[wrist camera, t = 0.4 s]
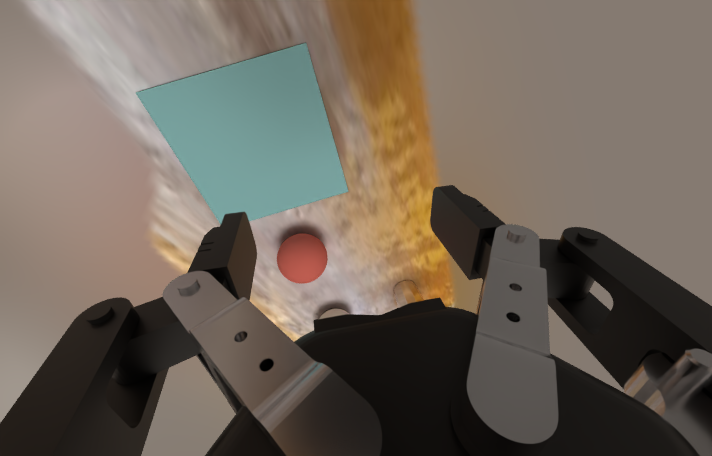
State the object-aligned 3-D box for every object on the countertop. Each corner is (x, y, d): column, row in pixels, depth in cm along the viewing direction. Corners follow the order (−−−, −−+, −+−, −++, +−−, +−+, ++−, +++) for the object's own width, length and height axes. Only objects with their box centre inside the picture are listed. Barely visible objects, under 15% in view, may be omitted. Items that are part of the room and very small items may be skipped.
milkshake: (429, 279, 43) (461, 339, 35) (405, 301, 45) (430, 363, 37) (407, 268, 41) (436, 330, 33) (383, 292, 43) (404, 356, 35)
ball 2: (312, 304, 41) (314, 338, 37) (350, 297, 42) (357, 330, 37) (317, 328, 44) (320, 362, 40) (353, 321, 45) (359, 353, 41)
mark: (136, 92, 23) (135, 92, 23) (305, 42, 23) (306, 42, 23) (224, 227, 32) (223, 228, 32) (348, 190, 32) (348, 191, 32)
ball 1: (273, 227, 33) (270, 260, 28) (322, 220, 33) (326, 251, 29) (283, 263, 36) (282, 298, 32) (327, 256, 37) (332, 289, 32)
